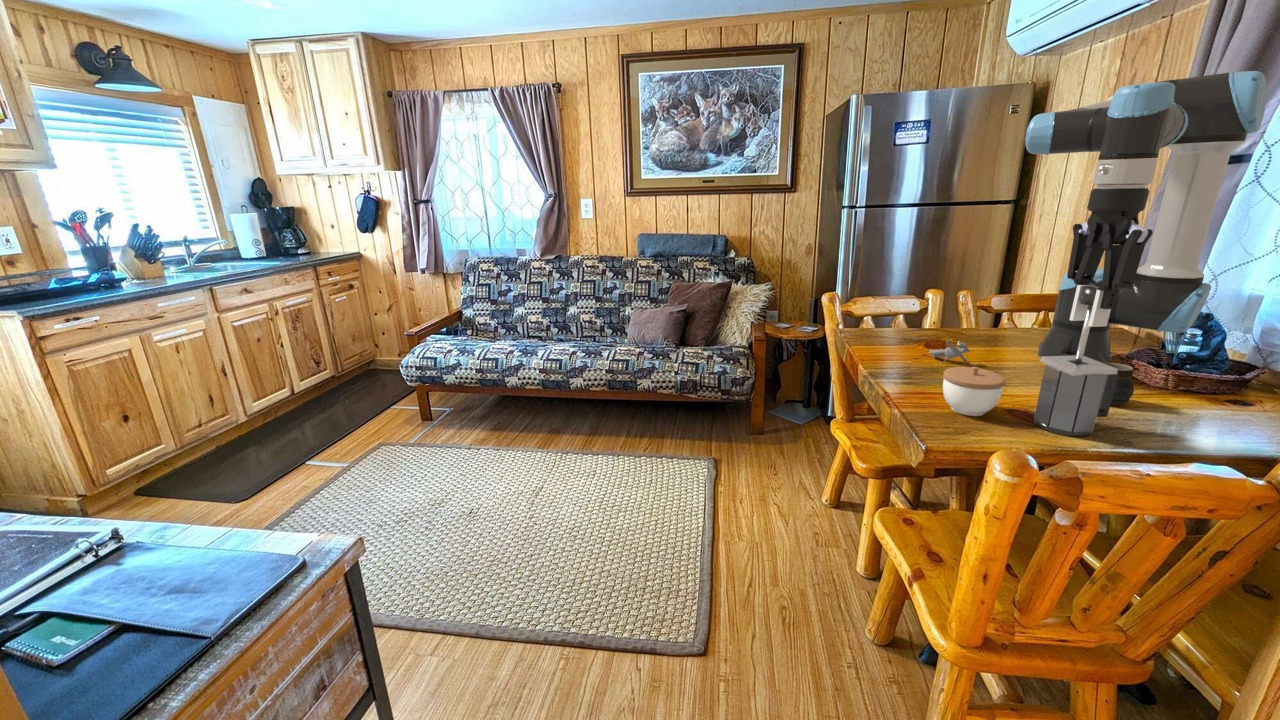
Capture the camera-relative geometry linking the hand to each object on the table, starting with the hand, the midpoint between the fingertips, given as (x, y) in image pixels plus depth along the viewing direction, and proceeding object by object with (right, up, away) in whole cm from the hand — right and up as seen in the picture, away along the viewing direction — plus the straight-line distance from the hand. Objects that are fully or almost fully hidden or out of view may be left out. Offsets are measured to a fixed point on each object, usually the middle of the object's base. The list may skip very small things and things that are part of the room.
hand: (1087, 322), depth 98 cm
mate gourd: (+18, -16, +17) cm, 30 cm away
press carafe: (+2, -19, +6) cm, 21 cm away
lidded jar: (-13, -17, +15) cm, 26 cm away
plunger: (0, -11, +4) cm, 12 cm away
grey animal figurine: (-1, -8, +44) cm, 44 cm away
